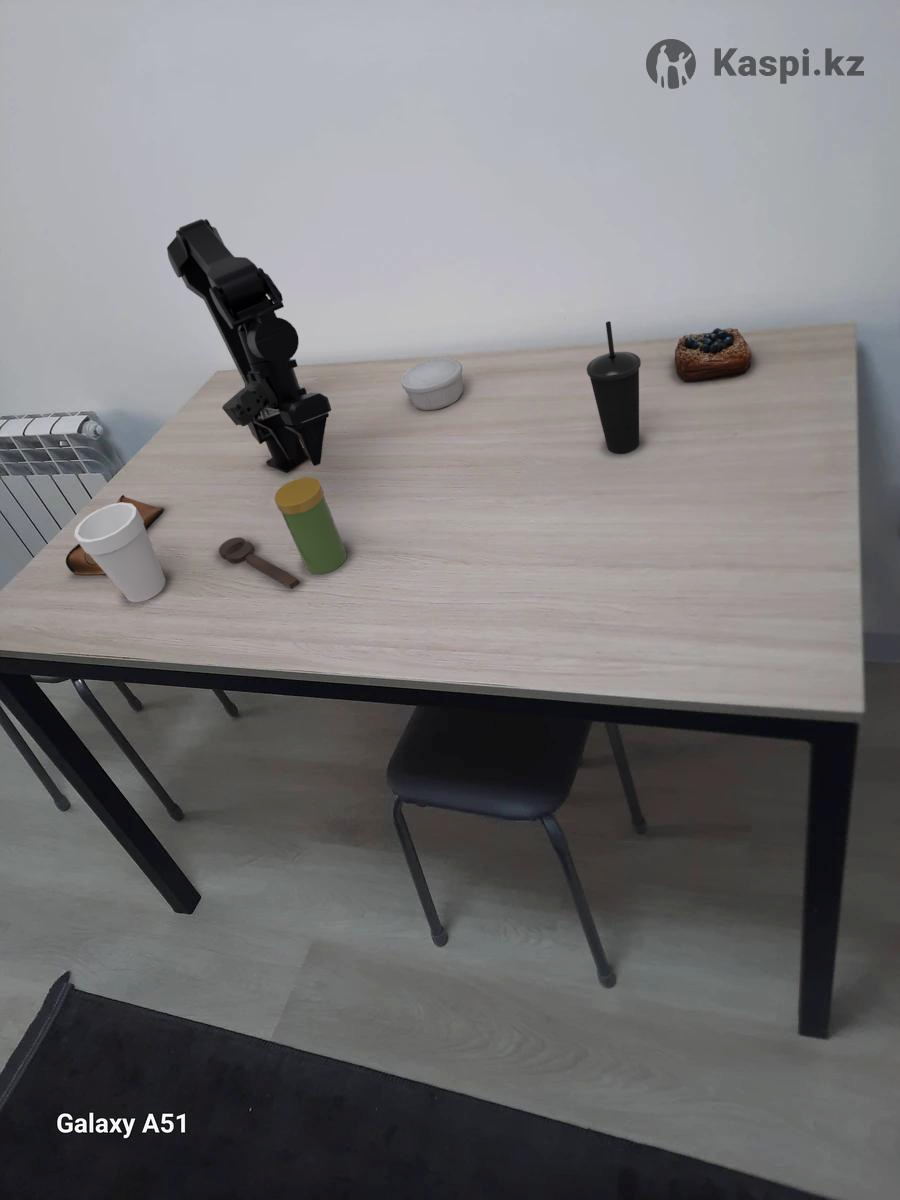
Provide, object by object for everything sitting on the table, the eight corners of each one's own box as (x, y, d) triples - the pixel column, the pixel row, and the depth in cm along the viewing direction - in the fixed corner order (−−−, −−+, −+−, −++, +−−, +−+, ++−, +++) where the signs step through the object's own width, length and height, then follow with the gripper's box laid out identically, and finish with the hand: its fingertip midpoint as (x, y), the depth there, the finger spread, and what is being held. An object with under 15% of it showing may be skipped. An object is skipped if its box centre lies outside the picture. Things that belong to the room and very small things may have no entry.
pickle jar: (296, 565, 128) (265, 497, 120) (329, 540, 131) (301, 472, 123) (322, 580, 123) (292, 510, 115) (356, 554, 126) (329, 484, 118)
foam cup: (109, 591, 134) (66, 526, 126) (161, 561, 138) (123, 495, 129) (129, 617, 128) (86, 550, 120) (183, 584, 131) (145, 516, 123)
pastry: (672, 356, 148) (669, 324, 145) (744, 343, 146) (744, 311, 142) (678, 387, 140) (676, 354, 136) (755, 374, 138) (755, 340, 134)
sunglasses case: (111, 572, 137) (76, 545, 135) (92, 589, 142) (58, 562, 139) (166, 505, 150) (135, 479, 147) (148, 522, 154) (117, 497, 152)
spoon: (215, 553, 135) (213, 549, 135) (237, 538, 137) (235, 534, 137) (283, 594, 123) (281, 590, 122) (307, 577, 125) (305, 572, 124)
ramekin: (396, 411, 157) (388, 386, 154) (428, 381, 163) (421, 355, 160) (447, 416, 151) (440, 390, 148) (478, 384, 157) (472, 358, 154)
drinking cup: (592, 459, 130) (574, 336, 118) (604, 431, 135) (588, 311, 123) (642, 459, 127) (629, 334, 114) (653, 431, 132) (641, 308, 119)
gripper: (197, 376, 126) (235, 475, 133) (239, 377, 111) (279, 489, 117) (265, 352, 131) (298, 449, 137) (314, 351, 116) (349, 460, 122)
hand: (304, 461), depth 128 cm, fingers open, 9 cm apart
